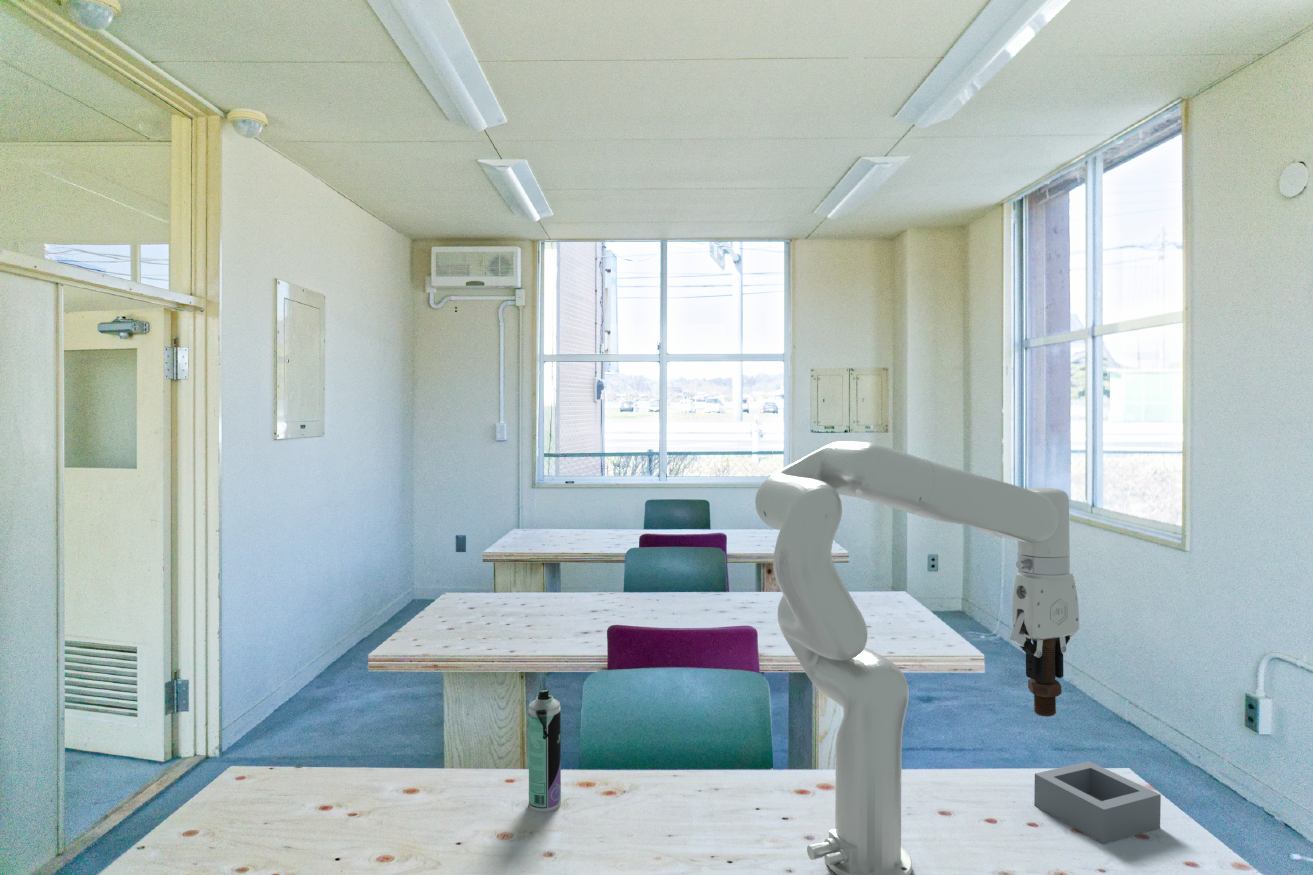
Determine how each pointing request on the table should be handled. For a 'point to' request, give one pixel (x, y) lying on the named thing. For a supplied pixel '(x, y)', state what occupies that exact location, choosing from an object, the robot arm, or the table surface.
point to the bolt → (1046, 683)
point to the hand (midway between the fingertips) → (1044, 676)
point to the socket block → (1097, 801)
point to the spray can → (544, 753)
